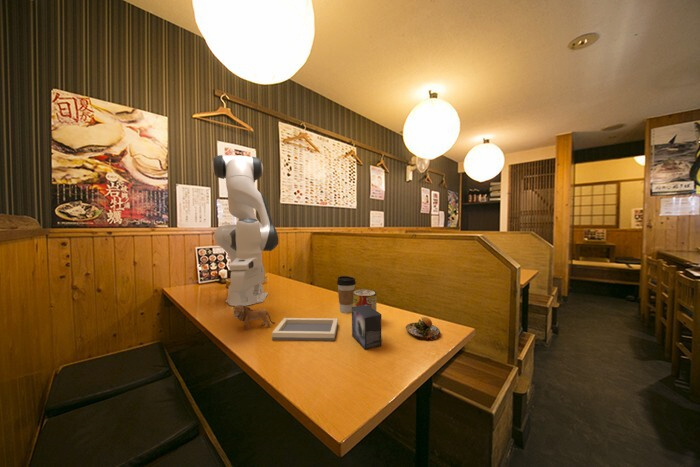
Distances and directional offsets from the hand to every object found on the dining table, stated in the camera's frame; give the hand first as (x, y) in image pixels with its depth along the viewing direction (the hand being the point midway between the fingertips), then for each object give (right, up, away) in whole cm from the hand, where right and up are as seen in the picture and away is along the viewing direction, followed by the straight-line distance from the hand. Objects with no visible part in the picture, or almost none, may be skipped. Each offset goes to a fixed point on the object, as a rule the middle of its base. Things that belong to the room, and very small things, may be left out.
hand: (250, 298), depth 91 cm
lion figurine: (+1, -12, +1) cm, 12 cm away
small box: (+42, -12, -10) cm, 45 cm away
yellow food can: (+43, -11, +5) cm, 45 cm away
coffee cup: (+35, -11, +18) cm, 41 cm away
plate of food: (+63, -12, -4) cm, 64 cm away
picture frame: (+22, -11, -3) cm, 25 cm away
